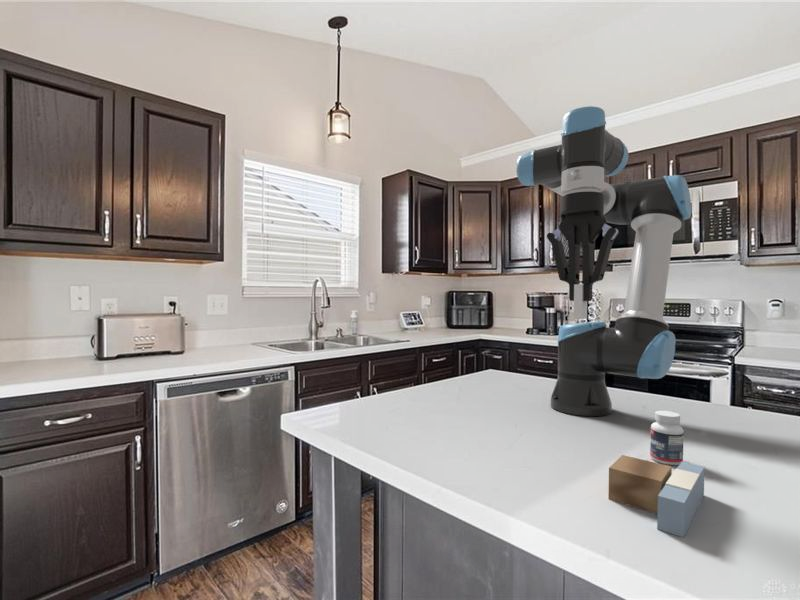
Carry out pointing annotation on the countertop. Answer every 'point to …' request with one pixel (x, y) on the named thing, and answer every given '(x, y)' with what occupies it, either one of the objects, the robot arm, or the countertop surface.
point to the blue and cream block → (680, 498)
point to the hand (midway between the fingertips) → (580, 318)
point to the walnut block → (637, 482)
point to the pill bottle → (667, 438)
